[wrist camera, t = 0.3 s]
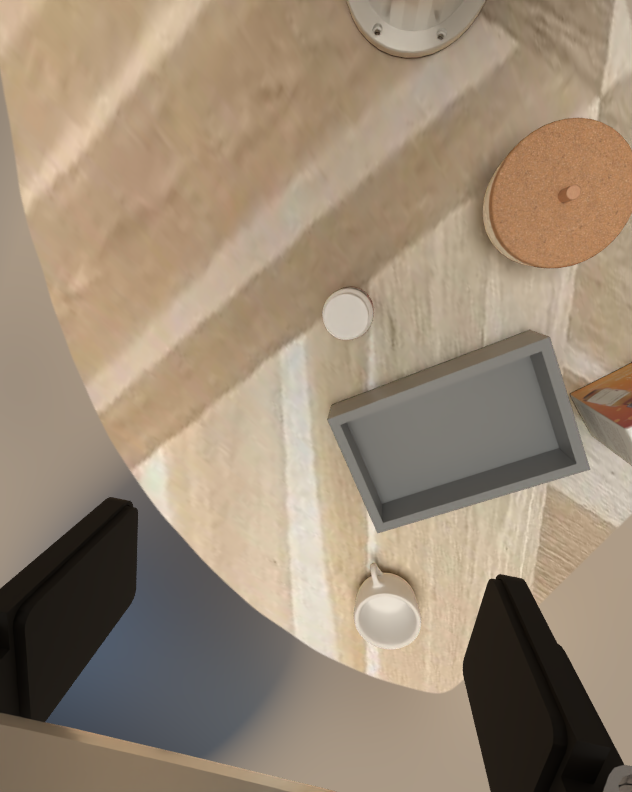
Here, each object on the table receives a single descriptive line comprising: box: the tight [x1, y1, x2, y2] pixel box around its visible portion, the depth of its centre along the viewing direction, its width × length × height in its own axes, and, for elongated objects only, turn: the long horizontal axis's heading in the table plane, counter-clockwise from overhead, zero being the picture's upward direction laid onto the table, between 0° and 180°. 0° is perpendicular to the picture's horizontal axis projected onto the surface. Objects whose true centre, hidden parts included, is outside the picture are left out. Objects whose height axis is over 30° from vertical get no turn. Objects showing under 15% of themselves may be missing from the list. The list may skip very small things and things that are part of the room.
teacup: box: [354, 563, 421, 649], centre depth 51 cm, size 10×8×5 cm
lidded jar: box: [483, 118, 632, 268], centre depth 36 cm, size 11×11×9 cm
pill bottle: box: [322, 287, 374, 340], centre depth 41 cm, size 5×5×8 cm
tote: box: [327, 330, 590, 533], centre depth 45 cm, size 14×22×5 cm, turn 113°
